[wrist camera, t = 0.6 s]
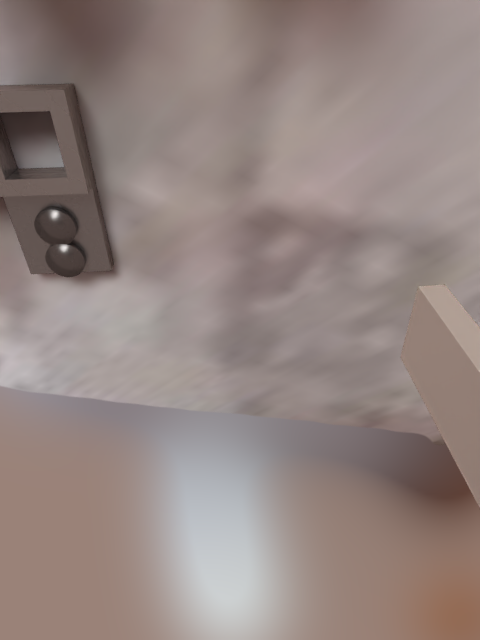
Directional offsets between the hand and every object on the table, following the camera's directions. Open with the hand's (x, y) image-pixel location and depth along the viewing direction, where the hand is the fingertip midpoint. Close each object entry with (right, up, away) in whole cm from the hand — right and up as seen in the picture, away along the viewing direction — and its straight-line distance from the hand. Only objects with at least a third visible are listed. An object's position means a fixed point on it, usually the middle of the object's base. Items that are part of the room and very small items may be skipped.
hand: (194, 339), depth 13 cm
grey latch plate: (-14, +11, +22) cm, 28 cm away
